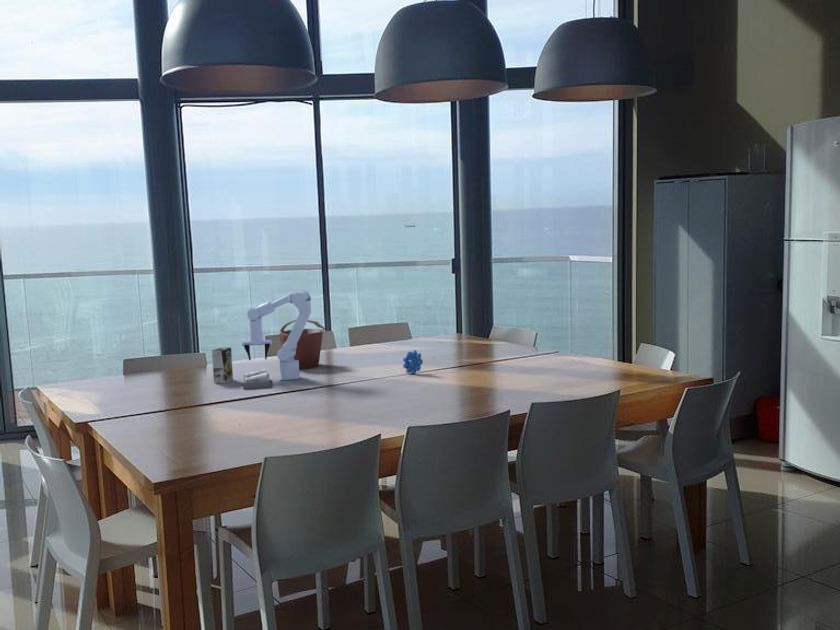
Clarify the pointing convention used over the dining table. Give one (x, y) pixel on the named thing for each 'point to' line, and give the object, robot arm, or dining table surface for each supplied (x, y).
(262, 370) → the rocker
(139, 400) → the dining table surface
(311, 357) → the bucket
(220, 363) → the coffee box
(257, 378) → the rocker
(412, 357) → the blue lobed wheel
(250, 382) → the switch panel
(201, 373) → the dining table surface
